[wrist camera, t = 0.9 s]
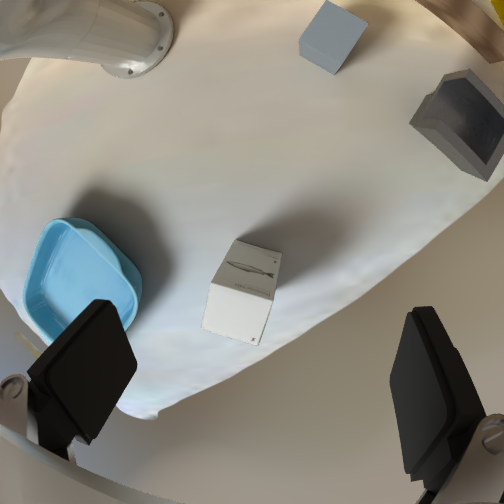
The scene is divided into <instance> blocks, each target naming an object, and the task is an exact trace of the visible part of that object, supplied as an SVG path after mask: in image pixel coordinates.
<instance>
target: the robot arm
mask: <svg viewBox="0 0 504 504" xmlns="http://www.w3.org/2000/svg"><path fill="white" fill-rule="evenodd" d="M163 15H164V16H163ZM173 34H174V26H173V21H172V18H171V16H170V14H169V13H168V12H167V10H166V9H164V8H163V7H162V6H160V5H158V4H156V3H154V2H150V1H140V2H135V3H134V2H132V1H130V0H0V61H1V60H6V59H12V58H22V57H39V58H54V59H65V60H74V61H82V62H90V63H97V64H100V65H101V66H102V68H103V69H104V70H105V71H106V72H107V73H108V74H110V75H112V76H115V77H118V78H134V77H137V76H140V75H142V74H145V73H147V72H148V71H150V70H151V69H153V68H154V67H155V66H156V65H157V64H158V63H159V62H160V61H161V60H162V59H163V57H164V56H165V54H166V53H167V51H168V49H169V47H170V45H171V42H172V38H173ZM162 48H163V50H162ZM136 370H137V361H136V358H135V356H134V353H133V351H132V348H131V346H130V343H129V341H128V338H127V336H126V333H125V330H124V328H123V325H122V322H121V319H120V316H119V314H118V311H117V308H116V306H115V305H113V303H112V302H111V301H110V300H105V299H94V300H93V301H92V302H91V303H90V304H89V305H88V306H87V307H86V308H85V309H84V310H83V311H82V312H81V313H80V314H79V315H78V316H77V317H76V318H75V319H74V320H73V321H72V322H71V323H70V324H69V326H68V327H67V328H66V329H65V330H64V331H63V332H62V333H61V334H60V335H59V336H58V337H57V338H56V339H55V340H54V342H53V343H52V344H51V345H50V346H49V347H48V348H47V349H46V350H45V351H44V353H43V354H42V355H41V356H40V357H39V358H38V359H37V360H36V361H35V363H34V364H33V365H32V366H31V367H30V368H29V369H28V371H27V373H28V374H29V376H30V378H31V379H32V380H31V381H30V382H28V380H27V378H26V377H25V376H24V375H22V374H13V375H10V376H8V377H7V378H5V379H4V380H3V381H2V382H1V383H0V504H184V503H180V502H176V501H173V500H169V499H165V498H162V497H158V496H155V495H151V494H148V493H145V492H142V491H139V490H136V489H133V488H130V487H128V486H125V485H122V484H119V483H117V482H114V481H112V480H109V479H106V478H104V477H102V476H99V475H97V474H95V473H92V472H90V471H88V470H86V469H84V468H81V467H79V466H77V463H76V458H75V453H74V448H73V442H72V440H73V438H74V437H75V438H76V440H77V441H79V442H81V443H84V444H86V445H90V443H91V441H92V440H93V439H95V438H96V437H97V436H98V434H99V432H100V431H101V429H102V427H103V426H104V424H105V422H106V420H107V419H108V417H109V415H110V414H111V412H112V410H113V408H114V407H115V405H116V403H117V402H118V400H119V398H120V397H121V395H122V393H123V392H124V390H125V388H126V387H127V385H128V383H129V382H130V380H131V378H132V377H133V375H134V373H135V372H136ZM390 388H391V393H392V398H393V402H394V408H395V413H396V418H397V424H398V429H399V436H400V442H401V448H402V455H403V463H404V469H405V472H406V474H410V476H411V482H412V481H417V480H422V479H423V483H424V488H425V491H424V492H423V493H422V495H421V496H420V498H419V499H418V501H417V502H416V503H415V504H504V415H503V414H492V415H489V416H486V413H485V411H484V408H483V406H482V403H481V401H480V398H479V396H478V394H477V391H476V389H475V386H474V384H473V382H472V379H471V377H470V375H469V373H468V370H467V368H466V366H465V364H464V362H463V360H462V358H461V356H460V353H459V352H458V350H457V349H456V348H455V347H454V346H453V344H452V342H451V340H450V338H449V336H448V334H447V332H446V330H445V328H444V327H443V324H442V323H441V321H440V319H439V317H438V315H437V313H436V312H435V310H434V308H433V307H432V306H427V307H426V306H424V307H414V308H413V310H412V312H408V313H407V316H406V320H405V324H404V328H403V332H402V336H401V340H400V344H399V347H398V351H397V354H396V358H395V361H394V364H393V368H392V371H391V374H390Z"/></svg>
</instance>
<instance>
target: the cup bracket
mask: <svg viewBox="0 0 504 504" xmlns="http://www.w3.org/2000/svg"><path fill="white" fill-rule="evenodd" d="M409 124H411V125H412V126H413V127H414V128H415V129H416V130H417V131H419V132H420V133H421V134H422V135H423V136H424V137H426V138H427V139H428V140H429V141H430V142H431V143H432V144H434V145H435V146H436V147H437V148H438V149H439V150H440V151H441V152H442V153H444V154H445V155H446V156H447V157H448V158H449V159H450V160H451V161H452V162H453V163H454V164H455V165H456V166H457V167H458V168H459V169H460V170H461V171H464V172H466V173H468V174H471V175H473V176H475V177H477V178H480V179H482V180H484V181H486V182H488V180H489V178H490V177H491V175H492V173H493V172H494V170H495V168H496V166H497V165H498V163H499V161H500V159H501V158H502V156H503V154H504V105H503V104H502V103H501V102H500V100H499V99H498V98H497V97H496V96H495V95H494V94H493V93H492V91H491V90H490V89H489V88H488V87H487V86H486V85H485V84H484V83H483V82H482V81H481V80H480V79H479V78H478V77H477V76H476V75H475V74H474V73H473V72H472V71H471V70H470V69H468V70H463V71H458V72H454V73H450V74H446V75H444V76H443V78H442V80H441V82H440V83H439V85H438V87H437V88H436V90H435V92H434V94H433V95H426V97H425V98H424V100H423V102H422V103H421V105H420V107H419V108H418V110H417V111H416V113H415V115H414V116H413V118H412V120H411V121H410V123H409Z"/></svg>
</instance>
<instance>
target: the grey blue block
mask: <svg viewBox="0 0 504 504" xmlns="http://www.w3.org/2000/svg"><path fill="white" fill-rule="evenodd" d="M367 25H368V23H367V22H365V21H364V20H362V19H360V18H358V17H357V16H355V15H353V14H352V13H350V12H348V11H346V10H344V9H343V8H341V7H339V6H337V5H335V4H333V3H331V2H329V1H327V0H326V1H325V2H324V4H323V5H322V7H321V8H320V10H319V11H318V12H317V14H316V15H315V17H314V18H313V20H312V21H311V23H310V24H309V26H308V27H307V28H306V30H305V31H304V33H303V34H302V36H301V37H300V39H299V52H300V56H302V57H304V58H305V59H307V60H309V61H311V62H313V63H314V64H316V65H318V66H320V67H321V68H323V69H325V70H327V71H328V72H330V73H332V74H333V75H335V73H336V72H337V71H338V69H339V68H340V66H341V65H342V64H343V62H344V61H345V59H346V57H347V56H348V54H349V53H350V51H351V50H352V48H353V47H354V45H355V44H356V42H357V41H358V39H359V38H360V36H361V34H362V33H363V31H364V30H365V28H366V27H367Z"/></svg>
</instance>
